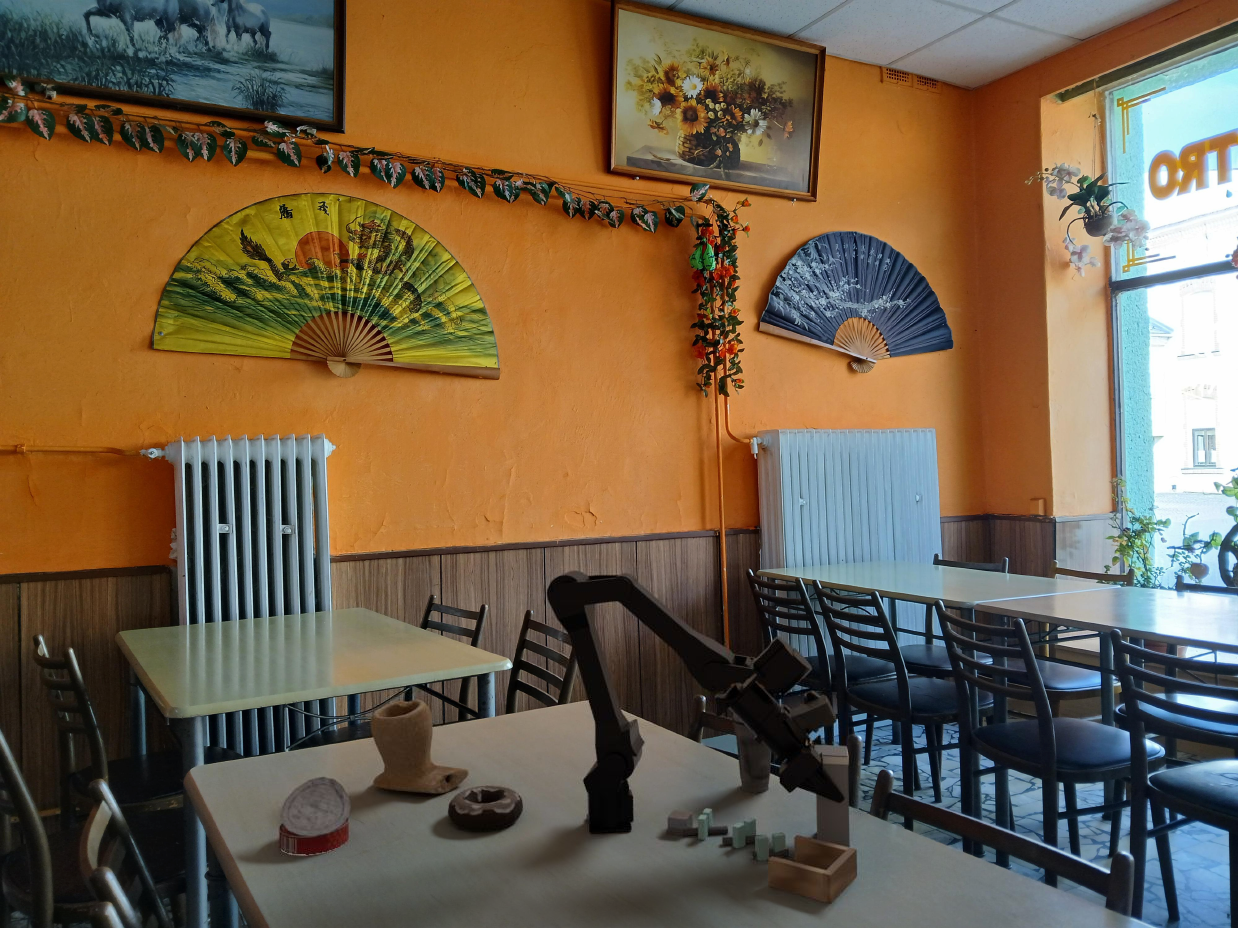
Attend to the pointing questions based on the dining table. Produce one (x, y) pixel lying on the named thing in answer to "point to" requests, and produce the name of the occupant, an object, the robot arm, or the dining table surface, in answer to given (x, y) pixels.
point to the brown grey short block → (679, 822)
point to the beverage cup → (752, 759)
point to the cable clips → (741, 832)
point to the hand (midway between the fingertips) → (841, 794)
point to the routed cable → (730, 839)
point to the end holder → (815, 869)
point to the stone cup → (410, 750)
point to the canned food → (315, 817)
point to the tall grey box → (830, 812)
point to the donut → (485, 808)
